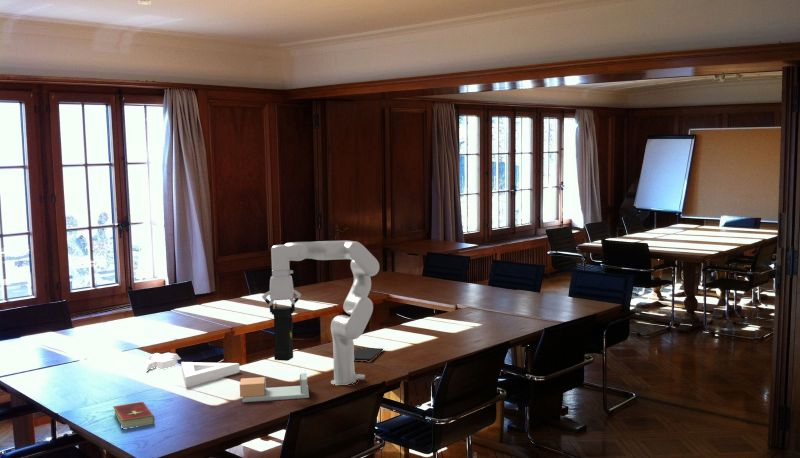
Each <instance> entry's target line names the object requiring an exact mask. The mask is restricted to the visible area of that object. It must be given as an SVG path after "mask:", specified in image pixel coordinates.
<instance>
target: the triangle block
mask: <svg viewBox="0 0 800 458" xmlns="http://www.w3.org/2000/svg"><path fill="white" fill-rule="evenodd" d="M181 373H182V377H183V381H184V385H185V388H190V387H194V386H196V385H200V384H204V383H208V382H210V381H211V382H212V381H214V380H217V379H221V378H225V377H228V376H232V375H235V374H238V373H240V363H237V362H197V361H196V362H193V361H181Z"/></svg>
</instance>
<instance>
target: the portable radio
mask: <svg viewBox="0 0 800 458" xmlns="http://www.w3.org/2000/svg"><path fill="white" fill-rule="evenodd" d="M274 302H275V306H274V307H273V315H272V316H273V335H274V336H273V338H274V353H273V355H274V358H273V359H274V361H282V362H284V361H285V362H287V361H290V360H292V359H293V358H294V345H293V343H294V342H293V341H294V340H293V330H294V324H293V321H294V320H293V314H292V309H291V307H290V306H288V307H287V306H277V301H274Z"/></svg>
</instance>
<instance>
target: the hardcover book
mask: <svg viewBox="0 0 800 458" xmlns="http://www.w3.org/2000/svg"><path fill="white" fill-rule="evenodd" d="M112 408H113V410H114V415H115V414H116V415H115V417H116V416H117V417H116V419H117V418H118V419H117V421H118V420H119V421H118V423H119V422H120V423H121V425H122V427H123V428H130V427H136V426H142V427H146V426H147V425H148V426H153V425H155V423H156V421H155V415H154V414H153V413H152V412H151V410H150V409H149V407H148V406H147V404H146V403H144V401H137V402H132V403H126V404H121V405H120V404H118V405H114V406H112ZM120 423H119V424H120ZM144 425H145V426H144Z"/></svg>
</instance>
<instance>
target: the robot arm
mask: <svg viewBox="0 0 800 458" xmlns="http://www.w3.org/2000/svg"><path fill="white" fill-rule="evenodd" d="M270 251H271V252H270V254H271V276H270V279H269V291H267V292H265V293H264V294H263V295H261V297H262V299H263V300H264V301H265V303H266V304H267V305H268V306H269V314H270V313H271V315H272V316H274V315H273V309H274V304H273V303H274V302H275V301H285V300H286V301H287V300H289V301H290V302H291V304H290V305H291V309H292V315H293V314H294V312H296V309H295V305H296V303H297V302H298V301H299V300H300V298H301V296H302V294H301V292H298V290H295V289H294V280H293V277H292V275H291V274H294V270H292V269H290V262H291V261H293V262H294V261H295V262H300V261H301V262H302V261H303V260H306V259H310V260H311V259H312V260H317V261H329V260H330V261H332V260H350V269H351V272H352V275H353V283H352V285H351V288H350V290H349V292H348V294H347V295H346V298H345V299H344V302H343V305H342V307H343V308H342V309H343V310H344V312H345V313H346V314H348V315H345V314H340V315H339V314H338V315H336V316H334V318H332V320H331V323H330V334H331V337H332V350H333V351H332V353H333V355H332V356H333V379H334V380H333V379H331V381H330V383H331V384H332V385H334V384H335V385H334V386H338V385H348V384H350V383H352V382H353V383H354V382H356V380H358V381H359V380H365V379H366V375H365V374H362V373H358V374H357V373H356V372H355V362H354V351H355V345H354V344H355V343H354V340H357V339H359V338H360V337H361V336H362V334H363V333H364V331H365V329H366V327H367V325H368V323H369V321H370V319H371V317H372V314H373V311H374V303H373V301H372V300H371V299H370V298H369V297H368V296H369V294H370V291H371V288H372V280H371V279H372V278H371V277H373V276H376V275H377V274H378V272H379V271H380V263H379V261H378V260H377V258H376V257H375V256H374V255H373V254H372V253H371V252H370V251H369V250H368V249H367V248H366V247H365V246H364V245H363V244H362V243H360V242H359V241H357V240H356V241H353V240H323V241H322V240H321V241H320V240H319V241H295V242H294V241H293V242H292V241H291V242H286V243H285V244H275V245H273V246H272V247H271V248H270ZM294 294H295V295H296V297H295V298H294ZM267 297H269V299H270V300H269V299H268V298H267ZM349 315H350V316H349ZM353 383H352V384H353ZM353 385H354V384H353ZM348 386H349V385H348Z"/></svg>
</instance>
